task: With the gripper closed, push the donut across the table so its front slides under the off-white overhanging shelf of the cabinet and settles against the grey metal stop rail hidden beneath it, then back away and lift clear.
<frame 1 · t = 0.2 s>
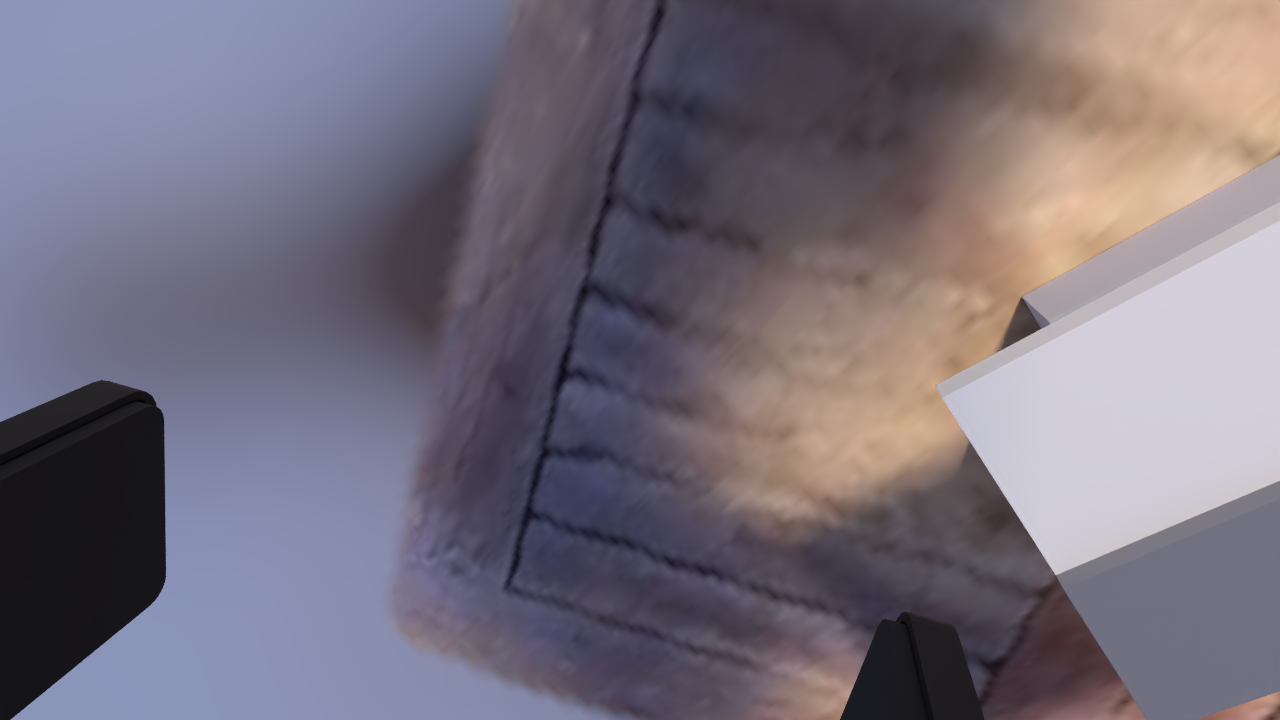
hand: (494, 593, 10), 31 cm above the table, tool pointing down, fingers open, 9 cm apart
ledge cabinet: (1189, 298, 36), on the table
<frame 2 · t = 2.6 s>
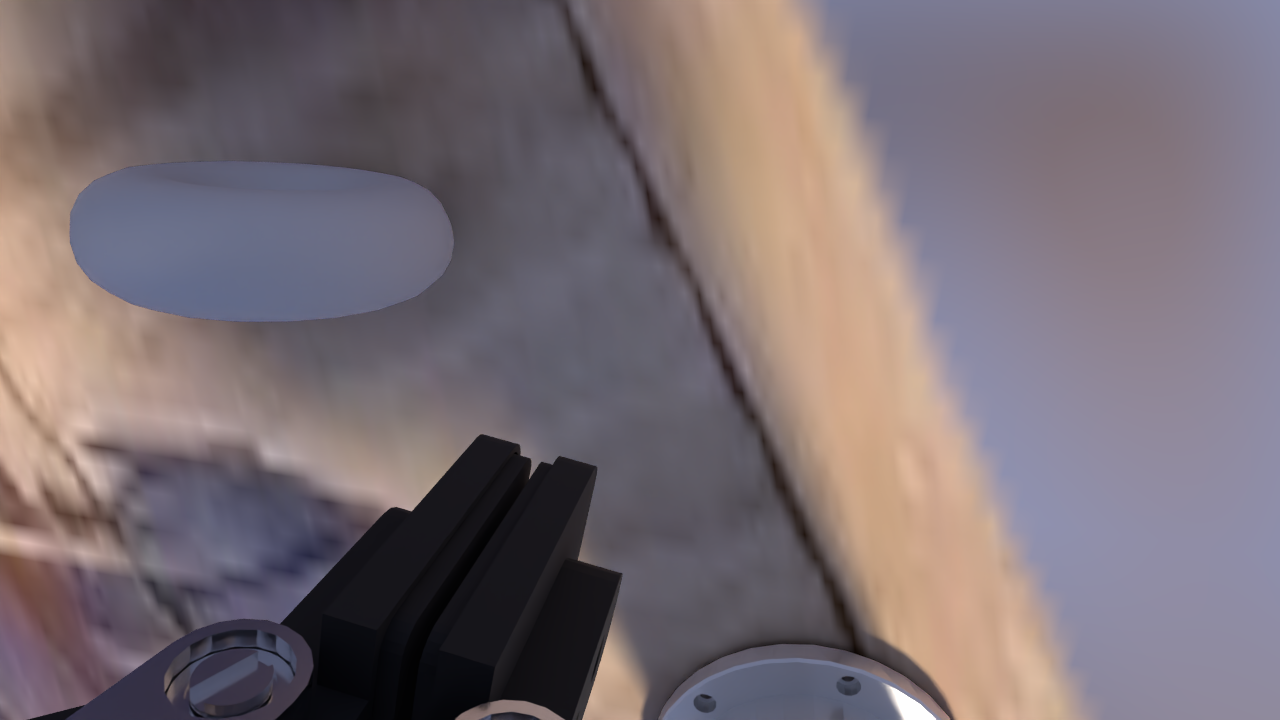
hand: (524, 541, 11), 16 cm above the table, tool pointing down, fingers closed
donut: (368, 208, 27), on the table
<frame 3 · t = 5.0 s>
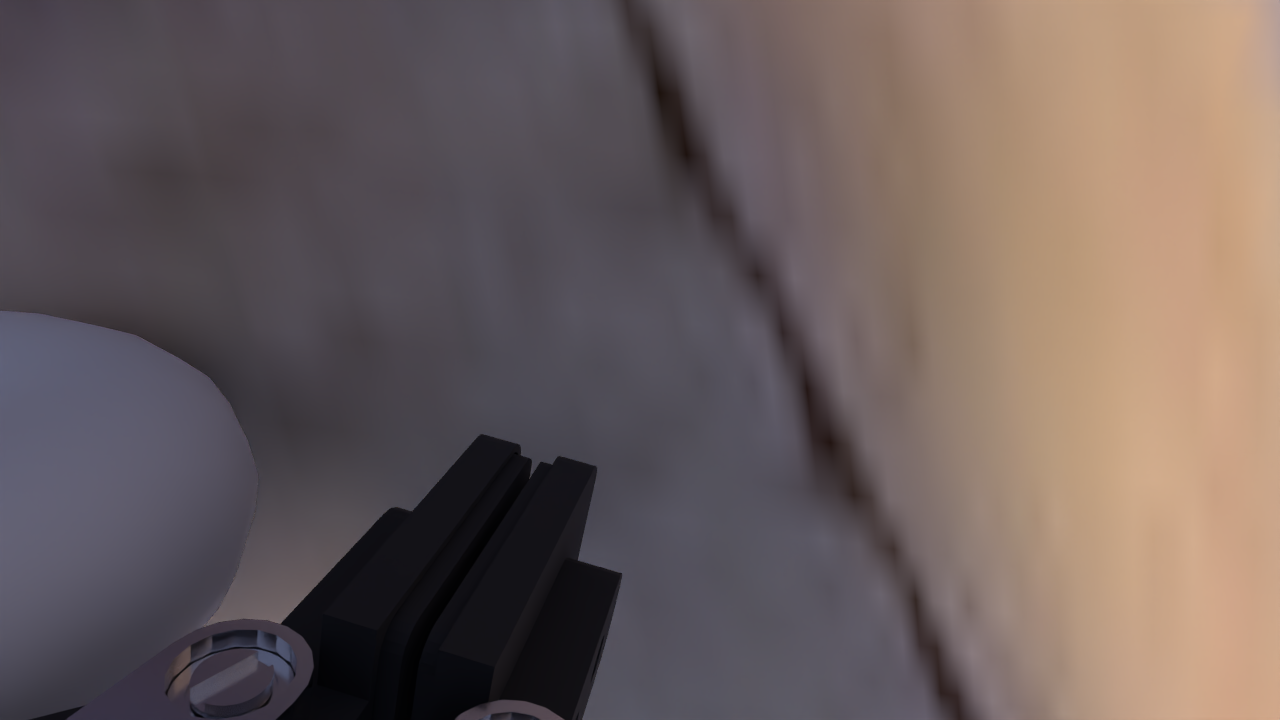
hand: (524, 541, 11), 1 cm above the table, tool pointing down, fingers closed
donut: (126, 378, 13), on the table, touching gripper
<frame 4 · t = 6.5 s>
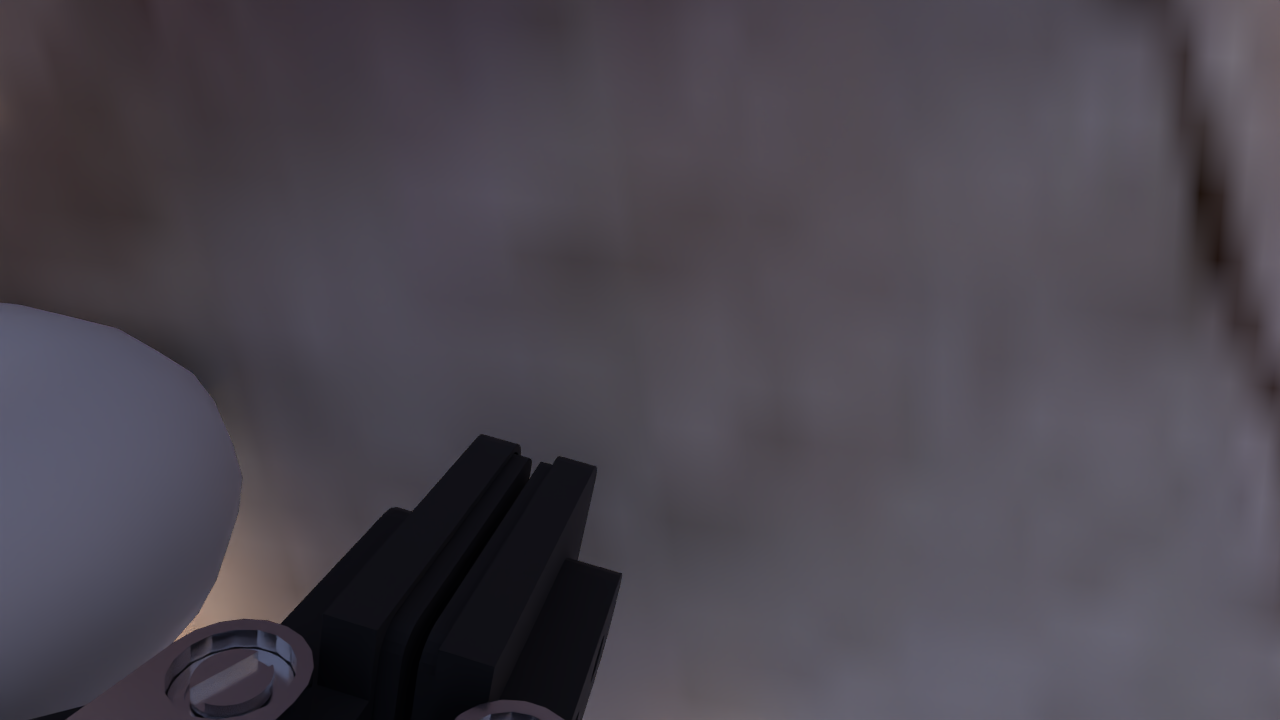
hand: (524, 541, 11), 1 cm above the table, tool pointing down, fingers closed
donut: (108, 370, 13), on the table, touching gripper
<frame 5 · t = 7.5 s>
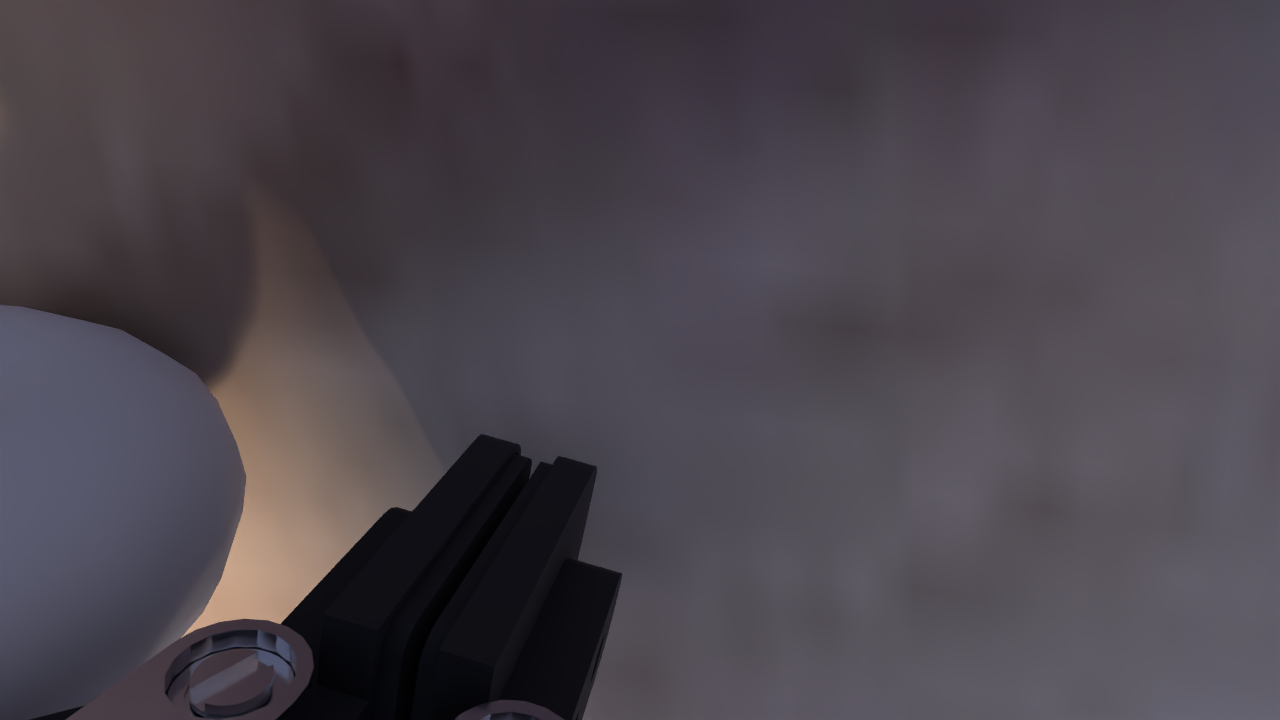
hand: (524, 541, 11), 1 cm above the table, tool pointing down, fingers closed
donut: (112, 372, 13), on the table, touching gripper
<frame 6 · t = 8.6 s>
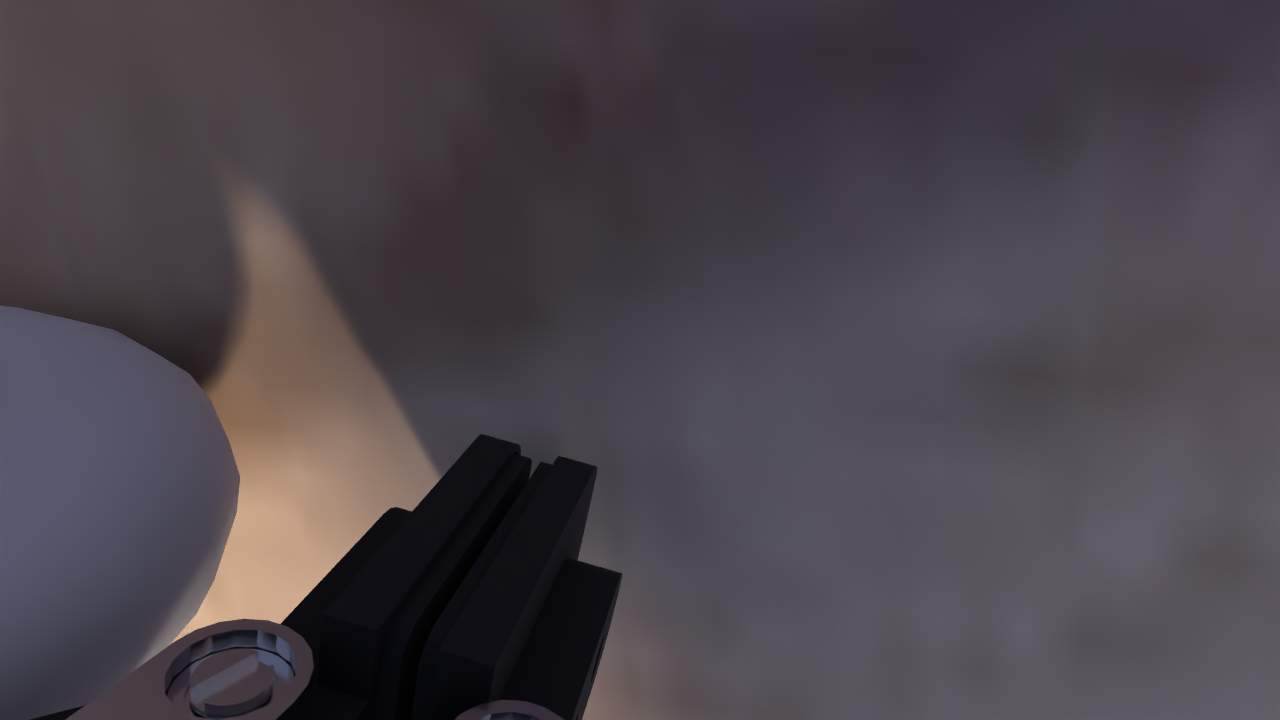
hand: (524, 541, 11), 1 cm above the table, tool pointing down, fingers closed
donut: (106, 372, 13), on the table, touching gripper
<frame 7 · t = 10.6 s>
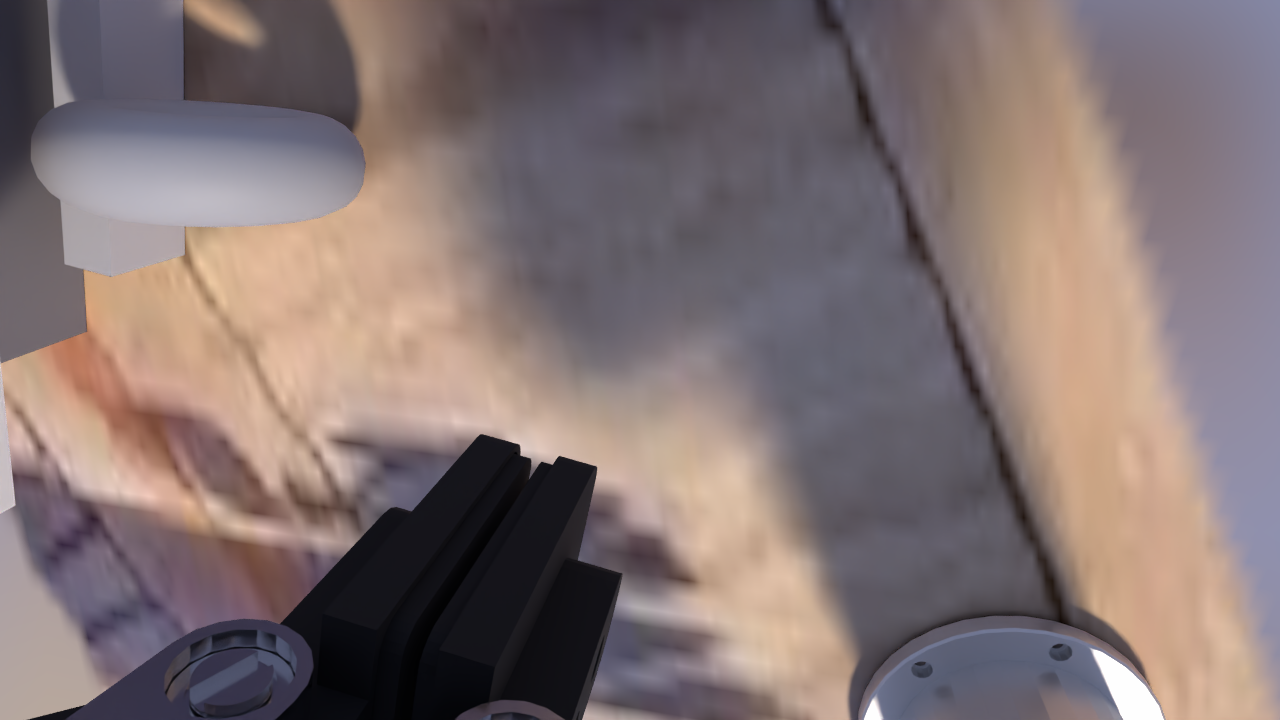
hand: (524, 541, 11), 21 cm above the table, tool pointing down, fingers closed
donut: (299, 146, 31), on the table
ledge cabinet: (94, 91, 32), on the table
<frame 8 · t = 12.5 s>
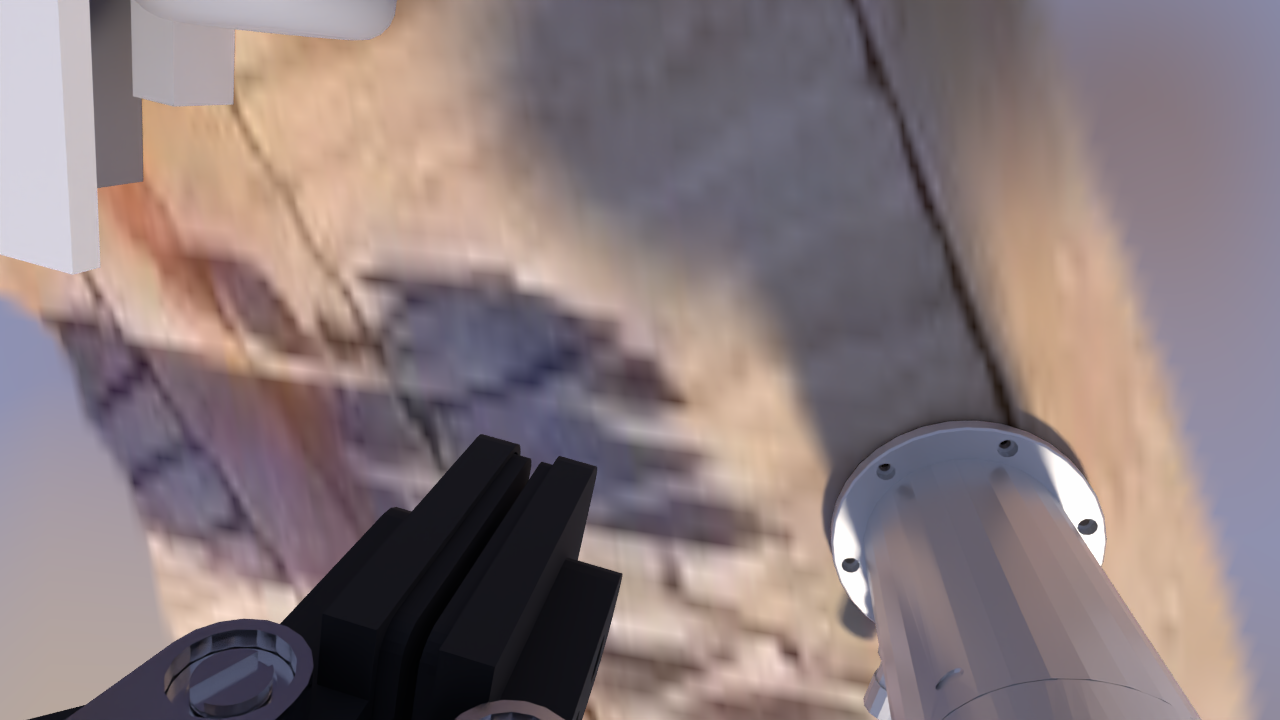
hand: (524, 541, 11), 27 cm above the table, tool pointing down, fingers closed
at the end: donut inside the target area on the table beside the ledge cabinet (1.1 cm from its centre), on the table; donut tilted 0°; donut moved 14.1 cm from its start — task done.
